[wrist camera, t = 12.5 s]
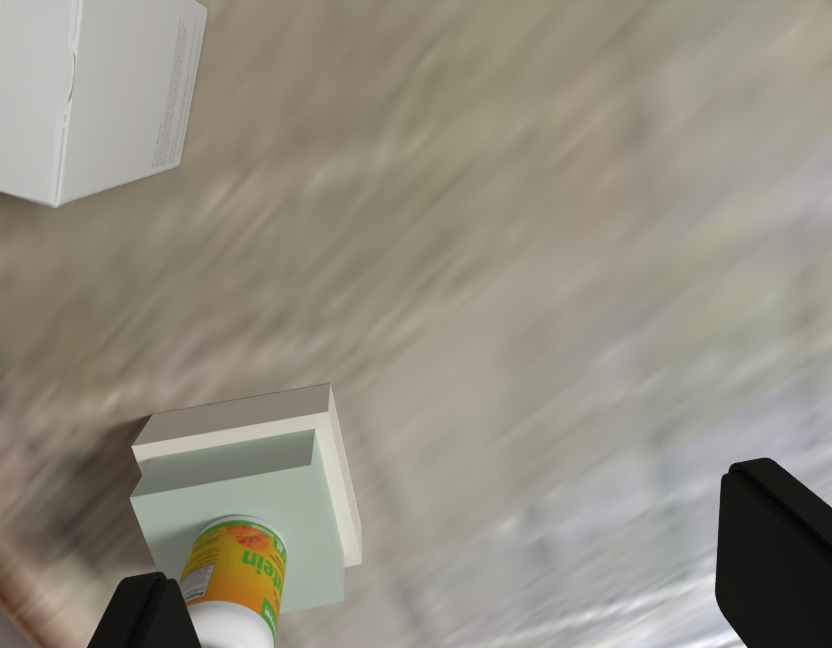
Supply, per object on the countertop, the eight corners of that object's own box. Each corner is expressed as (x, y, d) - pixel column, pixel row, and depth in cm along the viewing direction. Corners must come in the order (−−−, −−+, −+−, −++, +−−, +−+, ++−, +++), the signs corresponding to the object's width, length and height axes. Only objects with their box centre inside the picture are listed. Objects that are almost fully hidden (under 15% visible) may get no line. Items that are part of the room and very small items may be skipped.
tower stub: (152, 414, 39) (104, 486, 31) (330, 383, 39) (325, 446, 32) (201, 555, 43) (169, 648, 35) (360, 525, 43) (362, 610, 36)
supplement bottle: (307, 557, 34) (290, 716, 25) (234, 602, 35) (192, 774, 25) (248, 495, 32) (207, 644, 23) (172, 544, 33) (103, 708, 24)
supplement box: (32, -57, 29) (-262, -217, 15) (211, 8, 31) (96, -82, 17) (14, 123, 32) (-251, 128, 18) (180, 173, 34) (58, 213, 20)
